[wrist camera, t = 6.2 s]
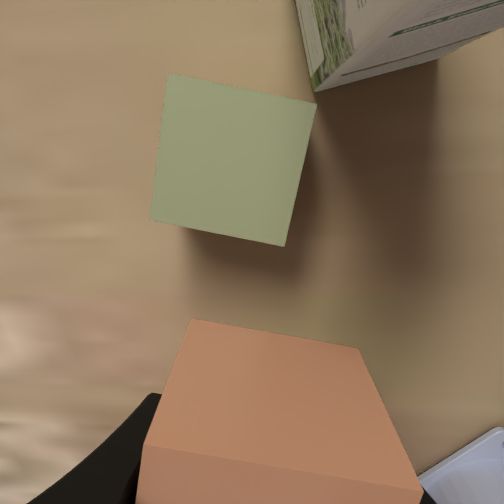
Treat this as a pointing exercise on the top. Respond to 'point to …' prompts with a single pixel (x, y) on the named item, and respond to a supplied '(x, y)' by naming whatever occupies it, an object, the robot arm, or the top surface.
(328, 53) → the syrup box
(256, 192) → the olive block
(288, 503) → the terracotta block
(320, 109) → the top surface
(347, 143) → the top surface
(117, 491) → the robot arm
